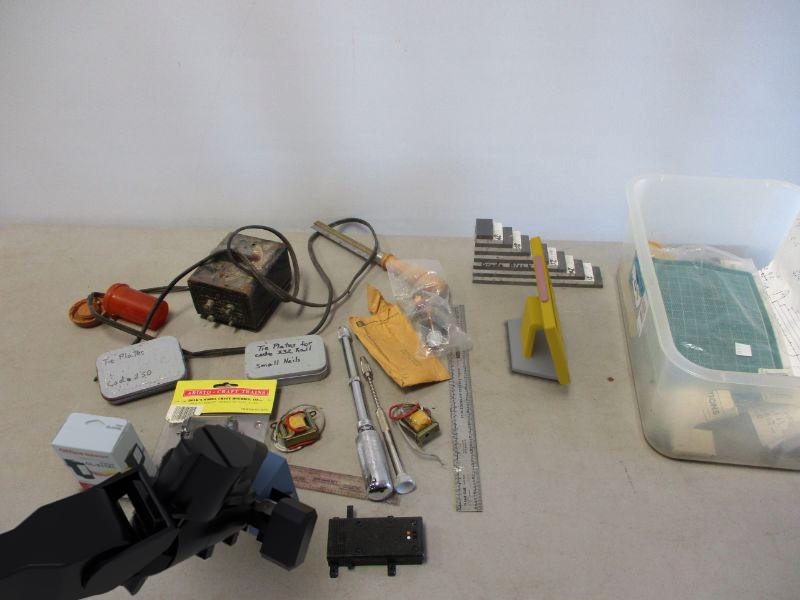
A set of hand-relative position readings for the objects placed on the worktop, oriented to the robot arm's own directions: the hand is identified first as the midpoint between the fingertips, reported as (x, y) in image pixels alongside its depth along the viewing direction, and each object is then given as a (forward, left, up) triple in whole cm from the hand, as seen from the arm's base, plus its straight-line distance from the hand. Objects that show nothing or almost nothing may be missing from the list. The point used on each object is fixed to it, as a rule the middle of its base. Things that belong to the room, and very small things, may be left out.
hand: (273, 487), depth 70 cm
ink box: (+5, +23, -9) cm, 25 cm away
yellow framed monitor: (+30, -36, -8) cm, 48 cm away
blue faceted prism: (-1, 0, -7) cm, 7 cm away
